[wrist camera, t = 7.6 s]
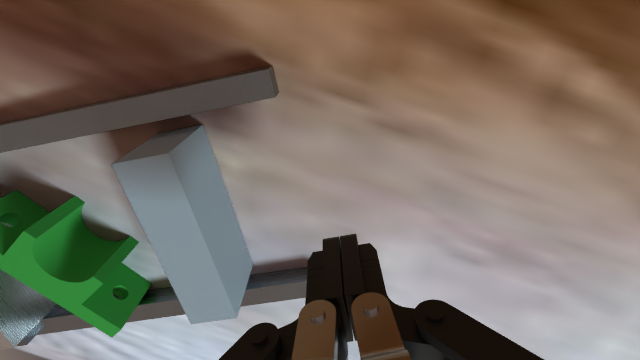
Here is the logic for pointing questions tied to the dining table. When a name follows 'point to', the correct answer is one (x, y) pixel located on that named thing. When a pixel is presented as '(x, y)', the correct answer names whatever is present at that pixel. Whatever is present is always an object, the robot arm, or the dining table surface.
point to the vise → (16, 297)
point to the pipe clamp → (69, 261)
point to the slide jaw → (188, 221)
